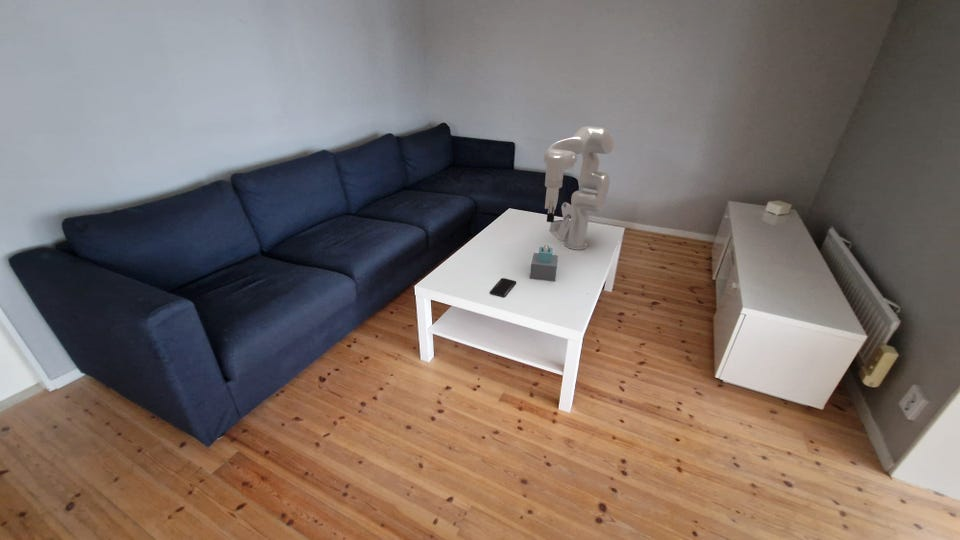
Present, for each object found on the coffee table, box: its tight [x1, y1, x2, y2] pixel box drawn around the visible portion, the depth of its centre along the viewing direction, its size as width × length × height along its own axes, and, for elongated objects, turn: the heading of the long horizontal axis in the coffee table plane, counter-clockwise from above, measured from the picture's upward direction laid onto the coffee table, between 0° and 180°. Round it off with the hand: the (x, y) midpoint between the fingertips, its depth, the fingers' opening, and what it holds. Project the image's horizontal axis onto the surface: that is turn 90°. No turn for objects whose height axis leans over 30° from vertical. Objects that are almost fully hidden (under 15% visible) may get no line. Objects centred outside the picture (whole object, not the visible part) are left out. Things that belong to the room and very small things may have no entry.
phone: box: [489, 277, 517, 298], centre depth 181 cm, size 8×1×15 cm
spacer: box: [537, 246, 554, 263], centre depth 188 cm, size 6×6×5 cm
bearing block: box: [529, 252, 559, 282], centre depth 191 cm, size 12×12×8 cm
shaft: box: [543, 244, 550, 252], centre depth 189 cm, size 2×2×14 cm
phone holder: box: [548, 201, 572, 242], centre depth 232 cm, size 17×10×18 cm, turn 16°
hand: (550, 221), depth 181 cm, fingers closed
